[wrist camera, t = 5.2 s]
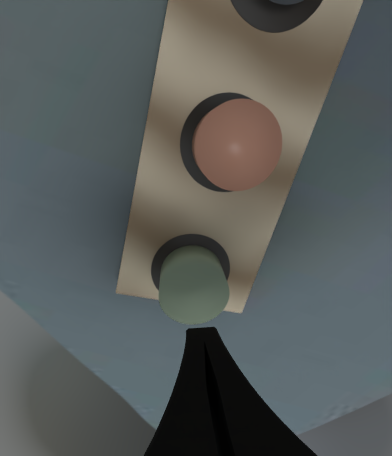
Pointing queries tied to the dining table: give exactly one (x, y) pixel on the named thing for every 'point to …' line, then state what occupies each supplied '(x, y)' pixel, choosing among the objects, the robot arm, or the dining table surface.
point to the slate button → (286, 1)
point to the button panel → (208, 100)
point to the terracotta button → (237, 144)
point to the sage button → (192, 285)
